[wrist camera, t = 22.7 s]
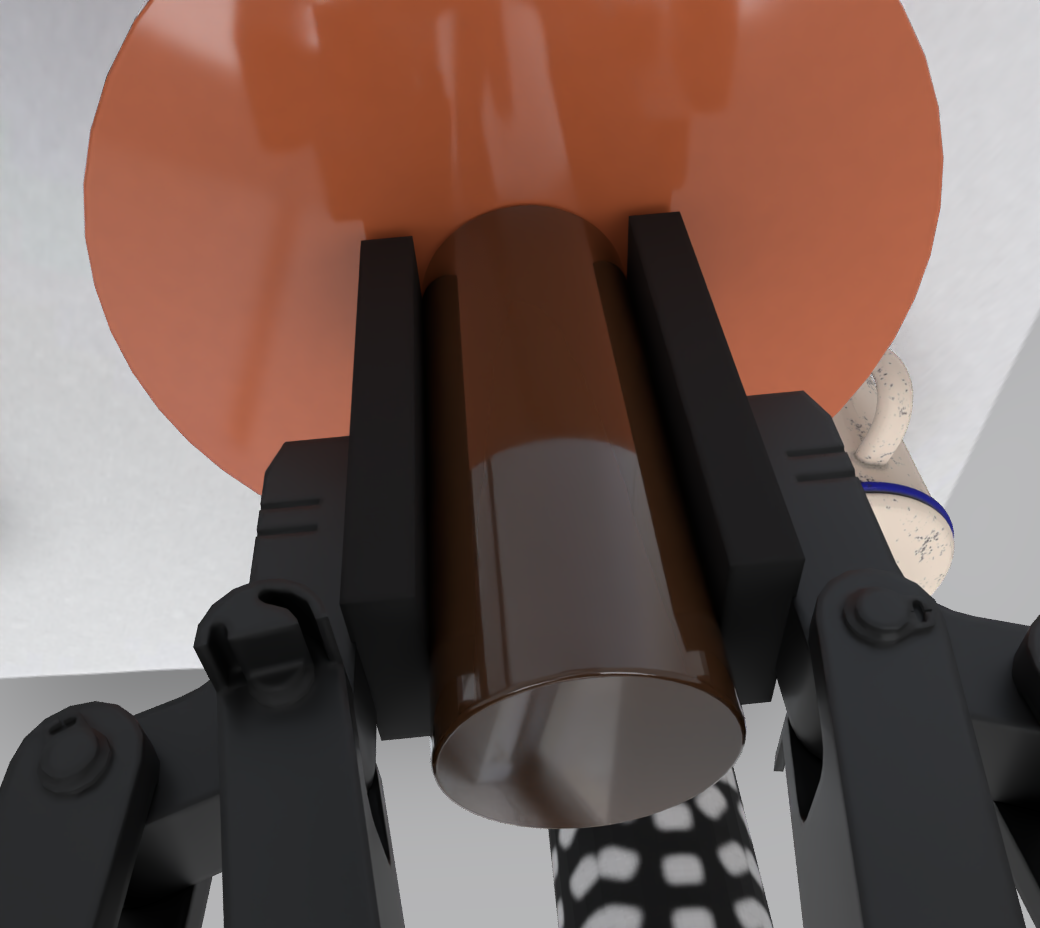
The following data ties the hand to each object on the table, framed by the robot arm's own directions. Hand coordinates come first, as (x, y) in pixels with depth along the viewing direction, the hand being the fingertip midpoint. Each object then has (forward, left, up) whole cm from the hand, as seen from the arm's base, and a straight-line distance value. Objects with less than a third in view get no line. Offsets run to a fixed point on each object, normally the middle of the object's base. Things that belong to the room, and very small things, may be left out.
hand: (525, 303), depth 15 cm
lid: (0, 0, -1) cm, 1 cm away
